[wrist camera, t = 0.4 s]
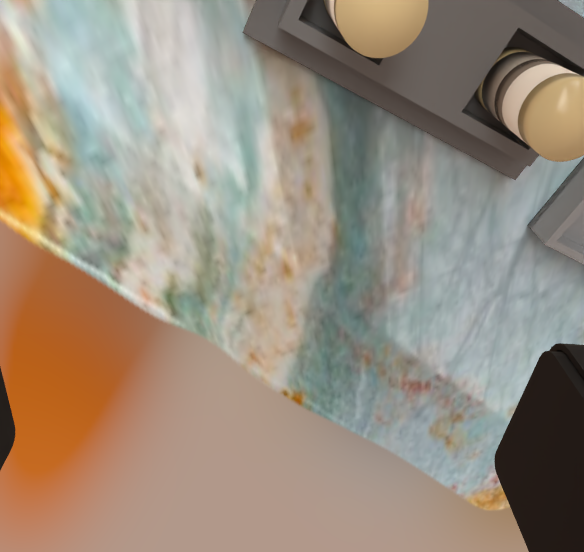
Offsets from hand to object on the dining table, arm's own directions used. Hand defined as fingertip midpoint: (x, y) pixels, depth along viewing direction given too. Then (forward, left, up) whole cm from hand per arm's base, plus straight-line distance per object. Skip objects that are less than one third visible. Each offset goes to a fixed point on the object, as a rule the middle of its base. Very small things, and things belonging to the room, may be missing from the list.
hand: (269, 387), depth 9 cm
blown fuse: (-6, +13, -28) cm, 32 cm away
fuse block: (-6, +8, -29) cm, 31 cm away
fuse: (-6, +2, -28) cm, 29 cm away
